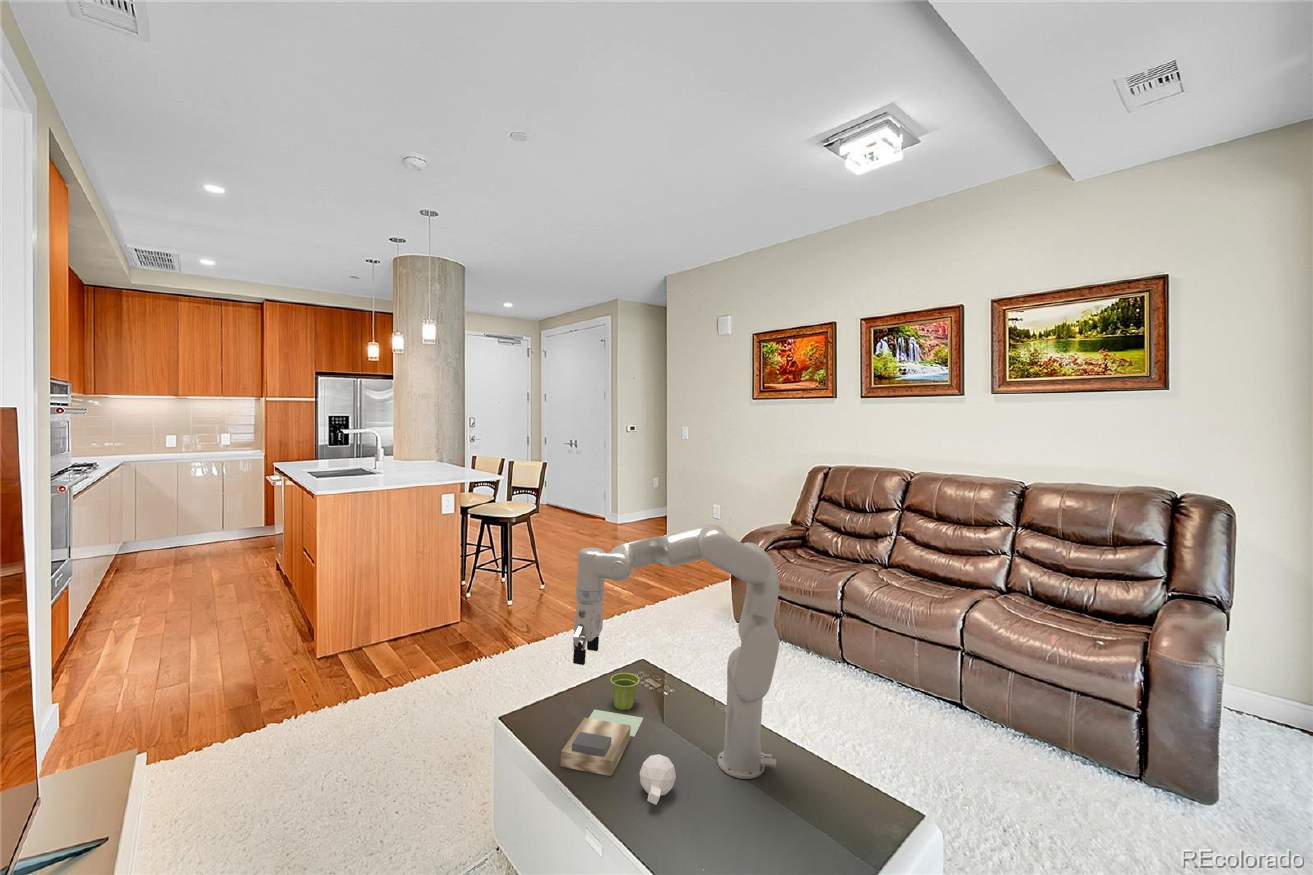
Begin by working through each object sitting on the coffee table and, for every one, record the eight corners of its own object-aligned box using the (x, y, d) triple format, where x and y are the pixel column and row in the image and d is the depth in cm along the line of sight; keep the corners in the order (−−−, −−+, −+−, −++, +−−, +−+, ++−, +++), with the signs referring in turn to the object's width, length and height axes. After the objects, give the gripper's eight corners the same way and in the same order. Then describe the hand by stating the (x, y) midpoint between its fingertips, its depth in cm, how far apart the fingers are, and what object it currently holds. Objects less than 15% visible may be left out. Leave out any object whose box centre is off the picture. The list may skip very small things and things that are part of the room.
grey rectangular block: (611, 744, 151) (611, 737, 151) (604, 757, 146) (604, 749, 145) (579, 738, 153) (579, 731, 153) (571, 751, 147) (571, 743, 147)
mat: (643, 718, 173) (643, 717, 173) (634, 737, 163) (634, 736, 163) (594, 710, 177) (594, 709, 177) (582, 728, 166) (582, 727, 166)
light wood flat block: (629, 739, 162) (630, 725, 162) (611, 776, 144) (612, 761, 144) (584, 731, 165) (584, 717, 165) (560, 766, 147) (561, 751, 147)
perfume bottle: (637, 770, 144) (630, 806, 132) (649, 740, 143) (643, 774, 131) (669, 783, 144) (664, 821, 132) (681, 753, 142) (678, 789, 130)
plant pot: (643, 704, 182) (645, 678, 182) (627, 716, 174) (628, 688, 174) (620, 696, 187) (621, 670, 187) (603, 707, 179) (604, 680, 179)
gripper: (591, 605, 142) (587, 672, 143) (613, 587, 159) (609, 647, 159) (563, 601, 144) (559, 667, 145) (588, 584, 161) (584, 643, 161)
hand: (585, 656), depth 152 cm, fingers open, 9 cm apart
